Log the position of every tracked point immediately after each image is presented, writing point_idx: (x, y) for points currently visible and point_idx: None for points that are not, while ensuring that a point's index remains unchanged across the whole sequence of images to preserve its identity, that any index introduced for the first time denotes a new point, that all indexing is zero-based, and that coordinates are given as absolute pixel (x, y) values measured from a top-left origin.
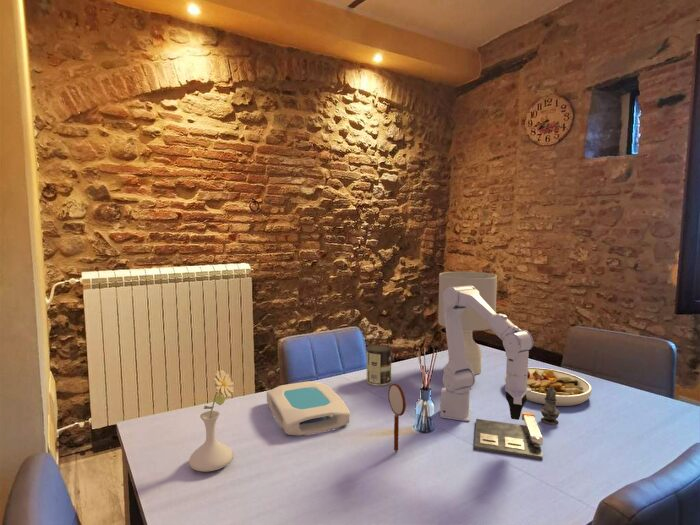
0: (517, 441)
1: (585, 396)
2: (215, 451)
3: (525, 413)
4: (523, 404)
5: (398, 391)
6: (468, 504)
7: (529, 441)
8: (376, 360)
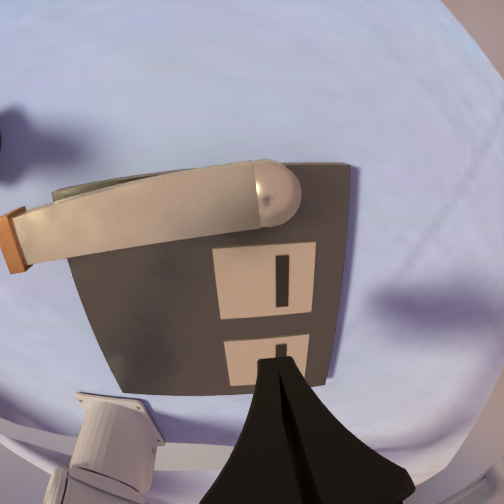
0: (246, 271)
1: None
2: None
3: (14, 258)
4: (377, 454)
5: None
6: (501, 329)
7: None
8: None
